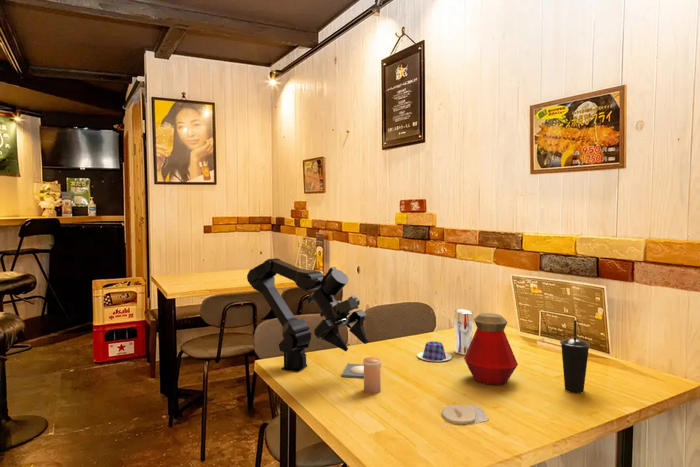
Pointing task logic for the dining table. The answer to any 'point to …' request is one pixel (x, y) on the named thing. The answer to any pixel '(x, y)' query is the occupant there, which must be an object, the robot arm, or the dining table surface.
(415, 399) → the dining table surface
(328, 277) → the robot arm
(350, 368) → the card
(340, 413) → the dining table surface
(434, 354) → the pudding
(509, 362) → the bottle
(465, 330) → the beer glass
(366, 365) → the terracotta tube
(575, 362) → the drinking cup
